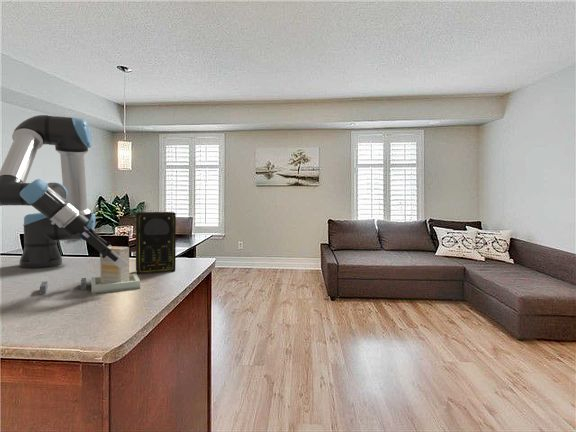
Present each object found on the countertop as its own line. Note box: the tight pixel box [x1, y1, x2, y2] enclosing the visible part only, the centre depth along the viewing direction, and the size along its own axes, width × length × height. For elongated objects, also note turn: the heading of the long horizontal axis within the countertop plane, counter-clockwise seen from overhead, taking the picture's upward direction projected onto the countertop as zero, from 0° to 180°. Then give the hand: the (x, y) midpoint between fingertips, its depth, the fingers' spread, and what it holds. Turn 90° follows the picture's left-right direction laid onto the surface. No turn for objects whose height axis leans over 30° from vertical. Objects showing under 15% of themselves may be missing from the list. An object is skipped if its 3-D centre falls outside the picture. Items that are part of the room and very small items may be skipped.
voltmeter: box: [134, 211, 177, 275], centre depth 139 cm, size 16×9×25 cm, turn 120°
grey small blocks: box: [39, 277, 87, 295], centre depth 111 cm, size 7×12×2 cm, turn 121°
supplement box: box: [99, 245, 130, 284], centre depth 116 cm, size 8×5×13 cm, turn 78°
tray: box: [90, 273, 141, 295], centre depth 116 cm, size 12×14×2 cm
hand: (122, 262), depth 117 cm, fingers open, 13 cm apart
